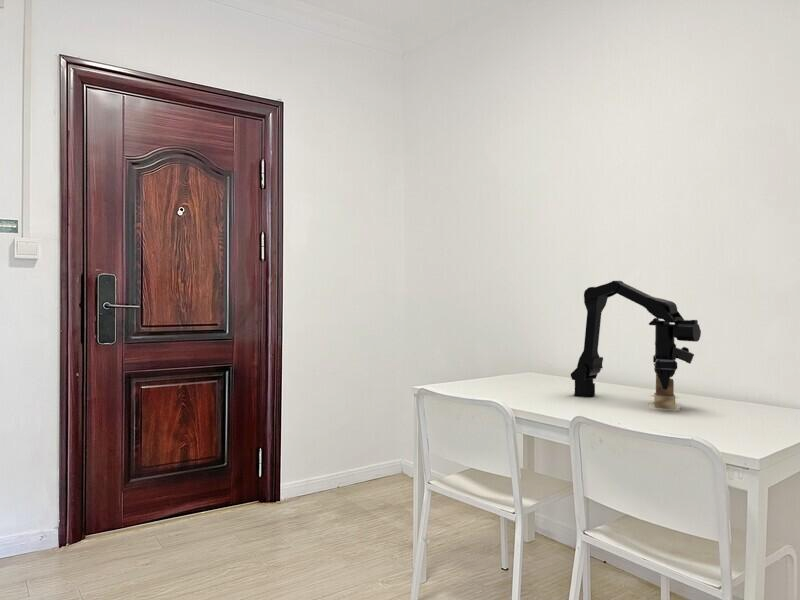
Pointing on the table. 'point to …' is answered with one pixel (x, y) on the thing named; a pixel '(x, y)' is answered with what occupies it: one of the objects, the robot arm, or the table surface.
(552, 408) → the table surface
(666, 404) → the oak base block
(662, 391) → the walnut cube
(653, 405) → the mat
